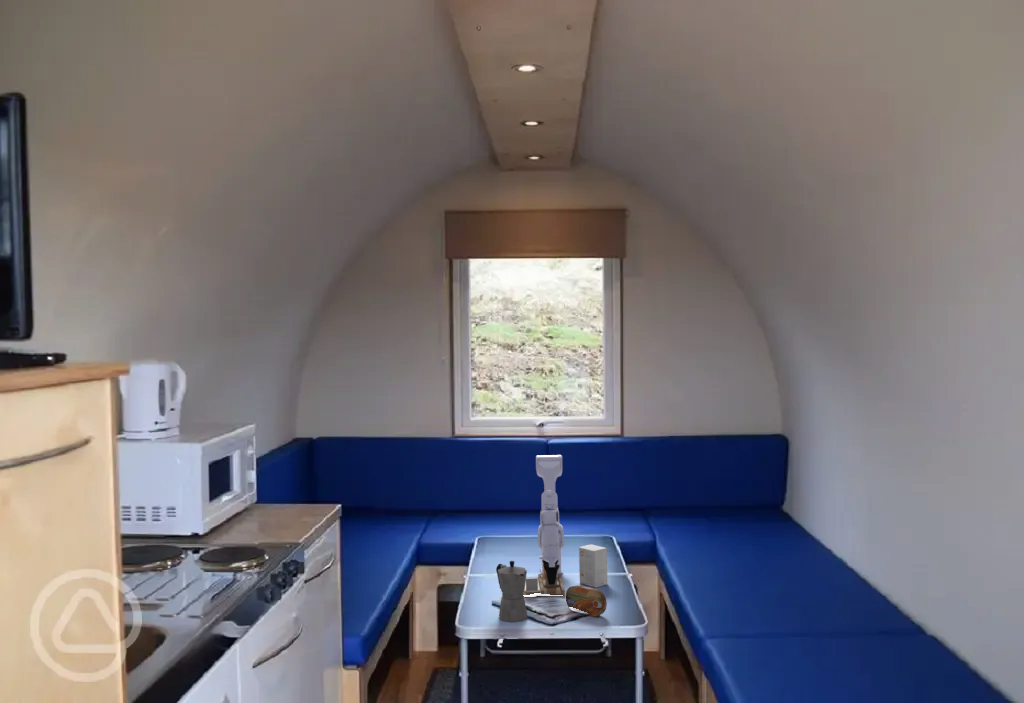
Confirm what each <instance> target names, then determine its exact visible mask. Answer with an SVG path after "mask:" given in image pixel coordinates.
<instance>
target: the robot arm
mask: <svg viewBox="0 0 1024 703" xmlns="http://www.w3.org/2000/svg"><path fill="white" fill-rule="evenodd" d="M535 470H536V475H537V476H538V477H539V478H542V480H543V485H544V486H543V488H544V491H543V492H542V493H541V511H540V512H539V513H540V514H539V520H540V523H539V524H540V525H538V527H537V546H538V547H539V548H541V549H540V550H541V555H538V558H539V560H541V566H540V567H539V569H540V574H541V573H543V567H544V569H545V571H546V574H547V579H548V584H549V585H555V581H556V575H557V576H558V573H560V574H561V575H563V574H564V570H563V568H562V548H564V547H565V532H564V526H563V525H562V524H561V523H560V511H559V506H558V494H557V492H556V481H557V479H558V477H559V478H560V477H561V476H562V474H563V455H561V454H556V455H555V454H551V455H549V454H548V455H547V454H546V455H545V454H544V455H536V456H535Z"/></svg>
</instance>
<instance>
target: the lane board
mask: <svg viewBox="0 0 1024 703" xmlns="http://www.w3.org/2000/svg"><path fill="white" fill-rule="evenodd" d="M536 577H537V578H538V582H539V587H540V592H526V593H524V592H523V595H530V594H534V593H541V594H550V595H563V596H562V597H566V591H565V586H564V583H563V578H562V574H560V573H558V574H557V578H558V582H559V586H553V587H544V586H543V580H542V575H541V573H538V574H537V576H536Z"/></svg>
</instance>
